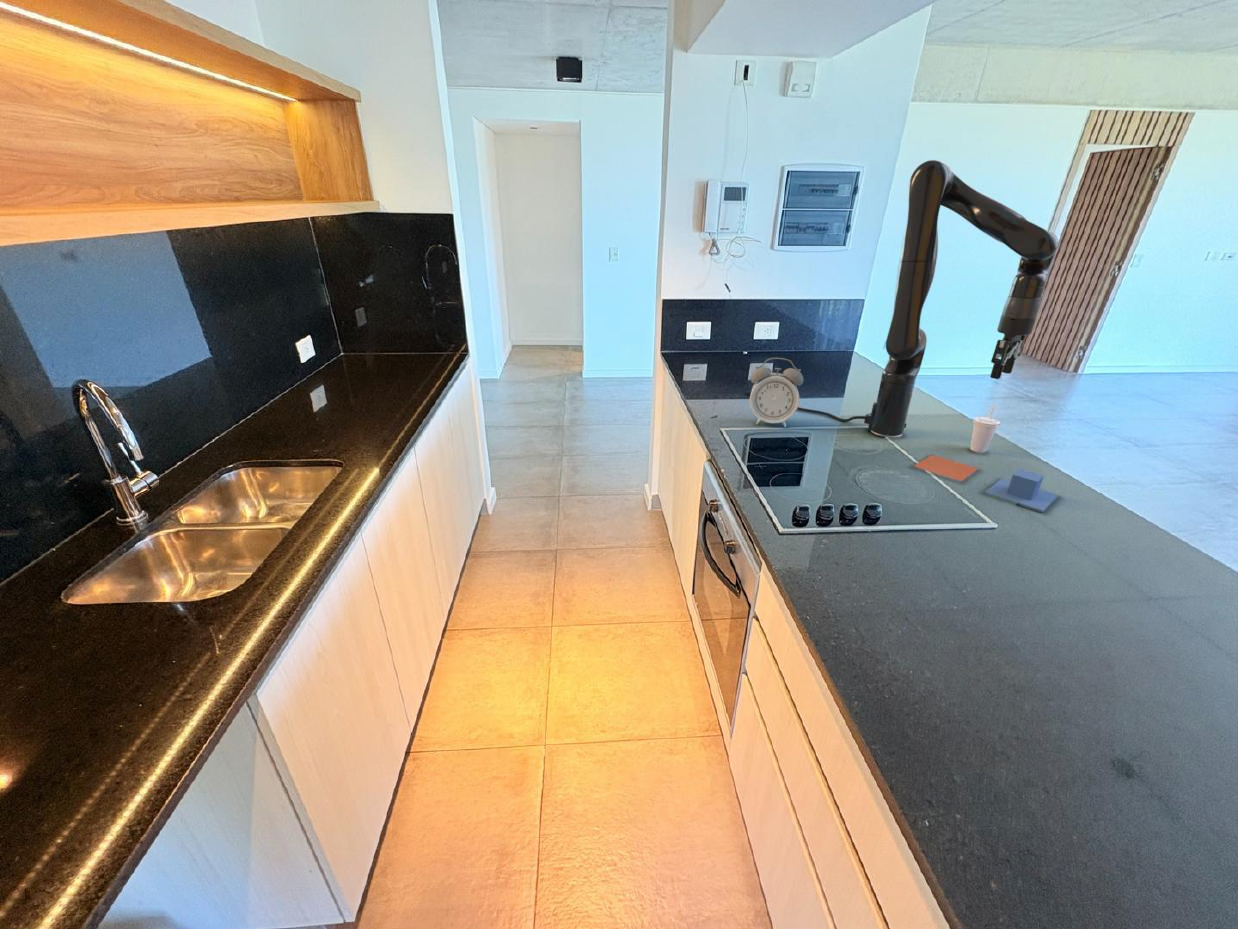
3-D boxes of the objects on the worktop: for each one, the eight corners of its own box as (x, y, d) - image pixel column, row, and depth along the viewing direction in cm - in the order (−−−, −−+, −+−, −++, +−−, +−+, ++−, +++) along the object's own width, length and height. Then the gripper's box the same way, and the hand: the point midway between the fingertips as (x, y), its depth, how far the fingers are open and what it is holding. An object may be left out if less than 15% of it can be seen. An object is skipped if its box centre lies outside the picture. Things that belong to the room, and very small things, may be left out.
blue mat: (983, 494, 130) (984, 491, 129) (1001, 480, 137) (1001, 478, 136) (1042, 512, 121) (1043, 510, 121) (1057, 497, 128) (1058, 494, 128)
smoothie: (994, 456, 150) (1009, 410, 144) (969, 455, 151) (983, 408, 145) (985, 448, 156) (999, 402, 150) (961, 446, 157) (974, 401, 151)
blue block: (1006, 492, 129) (1012, 474, 127) (1013, 487, 132) (1019, 468, 130) (1030, 500, 125) (1037, 481, 123) (1037, 494, 128) (1044, 475, 126)
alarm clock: (745, 425, 174) (751, 359, 165) (746, 416, 182) (753, 353, 172) (797, 429, 170) (807, 362, 161) (796, 421, 178) (806, 356, 168)
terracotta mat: (912, 468, 144) (913, 466, 143) (931, 456, 150) (932, 454, 150) (960, 483, 135) (961, 481, 135) (978, 470, 142) (979, 468, 142)
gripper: (1011, 310, 144) (994, 368, 151) (992, 315, 136) (975, 377, 143) (1044, 313, 139) (1025, 374, 146) (1027, 319, 131) (1007, 383, 137)
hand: (1000, 375), depth 144 cm, fingers open, 8 cm apart
